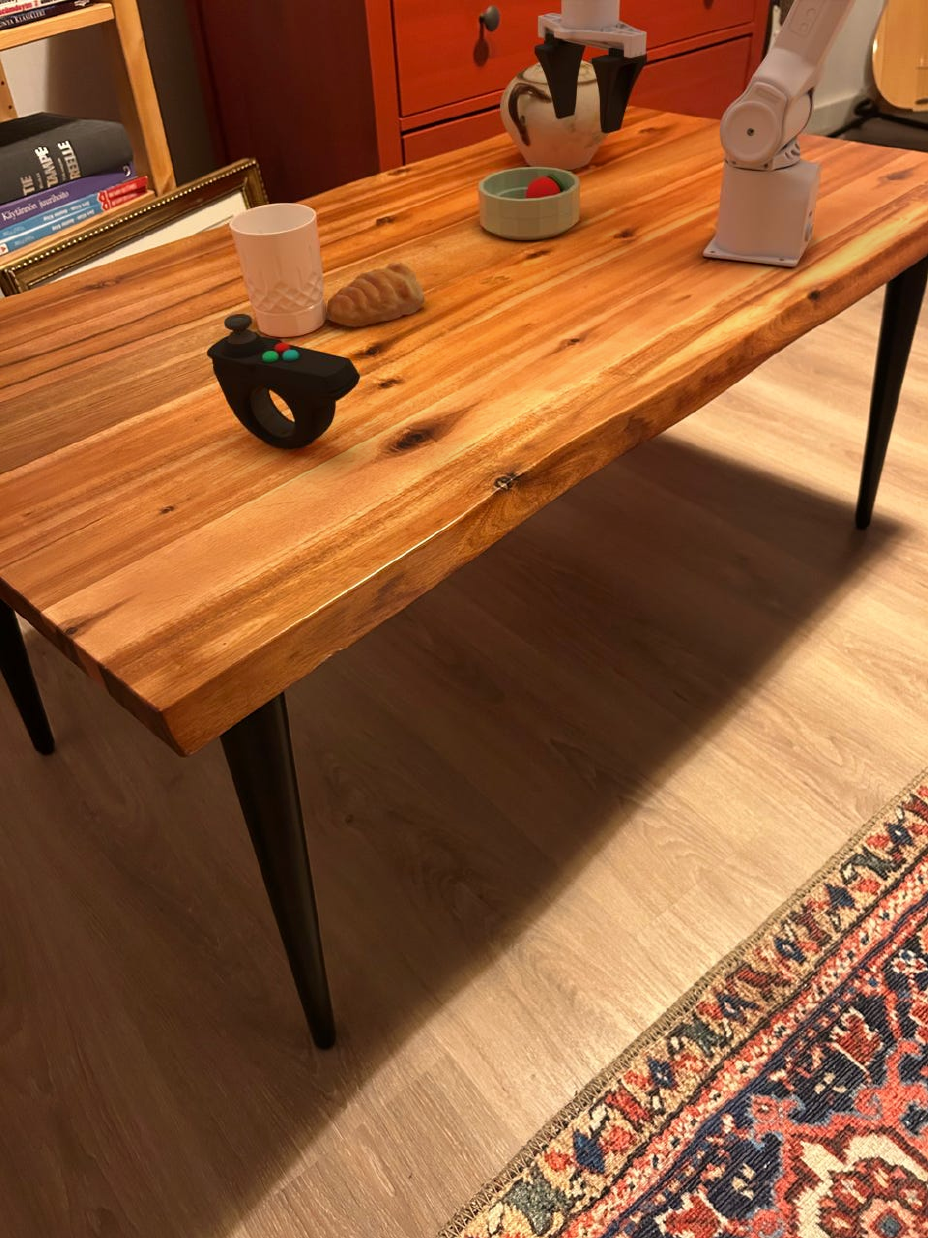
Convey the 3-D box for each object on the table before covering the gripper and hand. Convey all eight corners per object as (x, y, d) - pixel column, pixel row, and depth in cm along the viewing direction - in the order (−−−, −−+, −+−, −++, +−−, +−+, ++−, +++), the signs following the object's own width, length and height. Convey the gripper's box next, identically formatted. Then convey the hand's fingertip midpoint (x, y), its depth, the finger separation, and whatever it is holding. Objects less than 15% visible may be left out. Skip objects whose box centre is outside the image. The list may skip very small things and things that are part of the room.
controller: (253, 416, 81) (226, 301, 74) (377, 447, 76) (360, 327, 70) (220, 441, 78) (190, 324, 72) (346, 475, 73) (326, 353, 67)
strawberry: (544, 228, 111) (569, 202, 111) (543, 210, 107) (569, 182, 107) (519, 207, 112) (544, 181, 112) (517, 188, 108) (542, 161, 108)
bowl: (592, 211, 112) (594, 171, 109) (557, 247, 105) (557, 204, 102) (504, 202, 116) (503, 163, 113) (464, 236, 109) (461, 194, 106)
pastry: (351, 339, 91) (346, 299, 88) (313, 318, 95) (307, 279, 92) (431, 308, 95) (427, 269, 92) (391, 289, 99) (387, 251, 97)
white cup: (345, 309, 96) (330, 205, 89) (311, 344, 90) (292, 236, 84) (275, 302, 98) (255, 200, 92) (237, 336, 93) (213, 231, 86)
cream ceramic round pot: (559, 133, 136) (560, 8, 126) (649, 149, 128) (658, 18, 118) (467, 172, 125) (460, 40, 115) (559, 193, 117) (560, 53, 107)
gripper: (513, -31, 97) (516, 117, 106) (608, -15, 87) (603, 146, 96) (568, -41, 99) (567, 104, 108) (666, -27, 90) (656, 131, 99)
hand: (587, 123), depth 103 cm, fingers open, 7 cm apart
